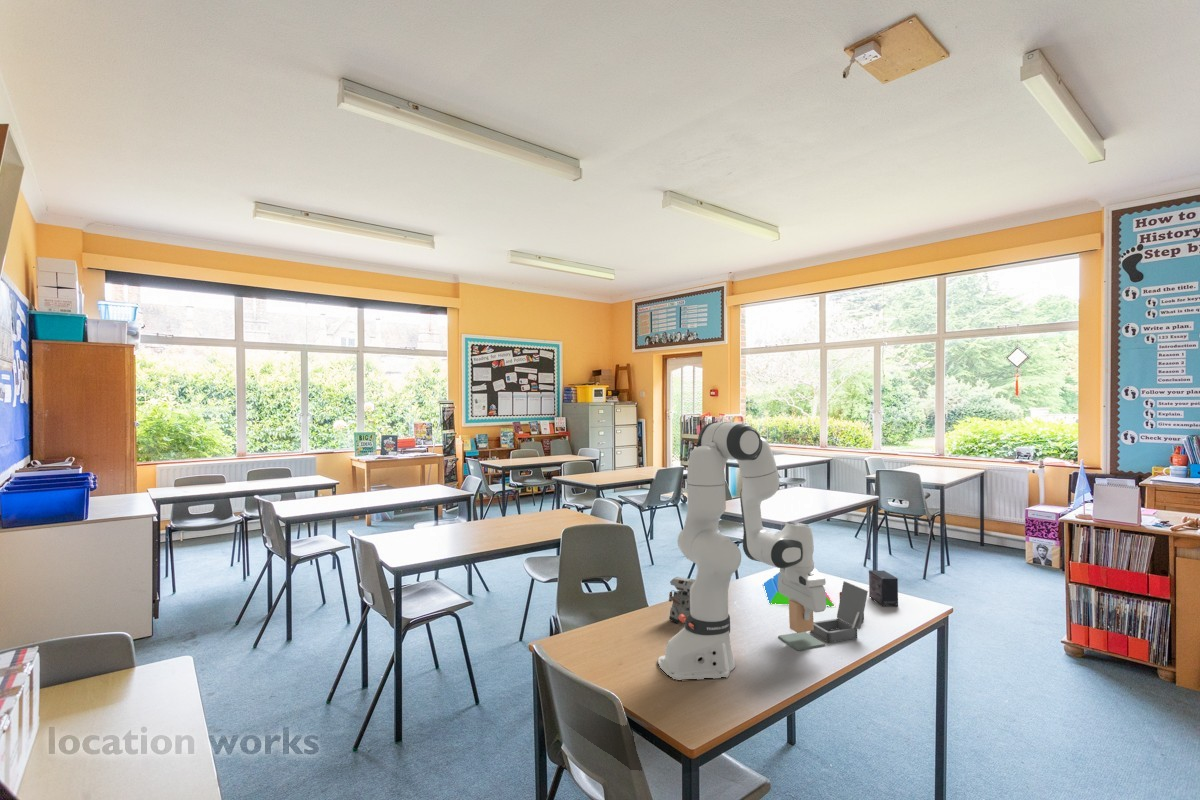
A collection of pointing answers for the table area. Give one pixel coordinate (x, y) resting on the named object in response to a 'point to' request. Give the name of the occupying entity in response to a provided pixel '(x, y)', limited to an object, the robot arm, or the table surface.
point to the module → (799, 618)
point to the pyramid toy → (778, 598)
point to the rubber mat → (801, 640)
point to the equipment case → (844, 616)
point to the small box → (883, 588)
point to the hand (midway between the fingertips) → (801, 616)
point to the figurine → (680, 598)
